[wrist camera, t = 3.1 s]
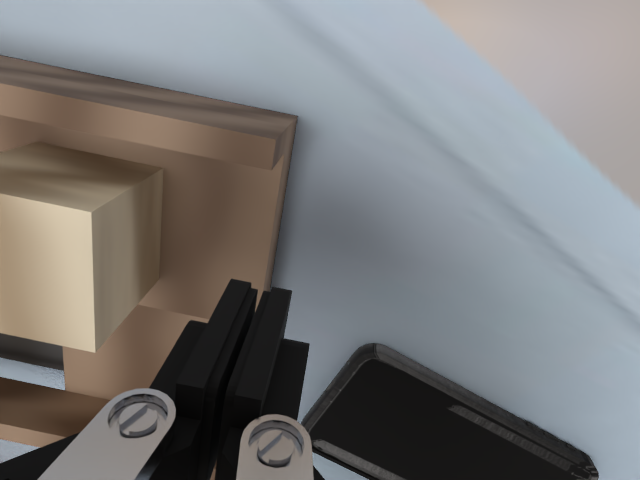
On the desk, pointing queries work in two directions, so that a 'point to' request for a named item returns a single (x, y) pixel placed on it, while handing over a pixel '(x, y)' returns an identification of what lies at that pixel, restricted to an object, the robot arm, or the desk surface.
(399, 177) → the desk surface
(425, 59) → the desk surface
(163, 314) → the wooden shelf
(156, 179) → the maple block
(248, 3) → the desk surface
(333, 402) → the phone
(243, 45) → the desk surface
